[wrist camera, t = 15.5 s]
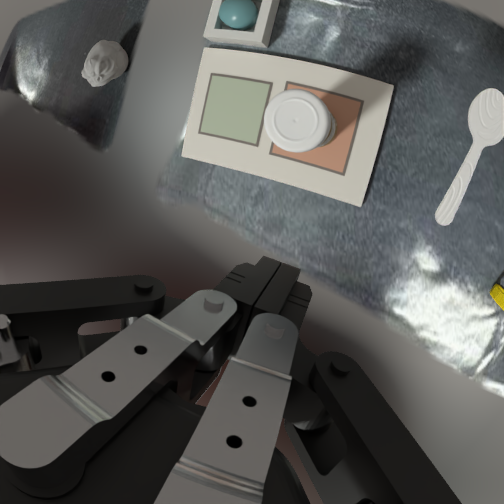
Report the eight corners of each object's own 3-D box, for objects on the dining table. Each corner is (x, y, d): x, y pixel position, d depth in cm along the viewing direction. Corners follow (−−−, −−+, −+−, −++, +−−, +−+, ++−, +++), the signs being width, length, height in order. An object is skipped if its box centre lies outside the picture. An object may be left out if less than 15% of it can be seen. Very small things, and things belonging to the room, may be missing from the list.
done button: (262, 3, 29) (257, -4, 27) (255, 32, 30) (249, 26, 28) (230, 1, 29) (223, -6, 27) (222, 29, 31) (215, 24, 29)
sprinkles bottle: (289, 116, 33) (251, 103, 21) (328, 100, 31) (311, 77, 19) (306, 154, 34) (278, 162, 22) (345, 139, 32) (340, 138, 20)
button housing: (280, -2, 29) (275, -11, 26) (267, 48, 32) (261, 42, 29) (225, -6, 30) (217, -14, 28) (212, 41, 33) (203, 36, 31)
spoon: (420, 212, 33) (421, 213, 32) (479, 78, 25) (481, 77, 25) (456, 234, 32) (457, 235, 32) (514, 103, 25) (516, 103, 24)
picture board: (393, 86, 29) (394, 85, 28) (360, 205, 35) (360, 207, 34) (207, 48, 33) (203, 47, 33) (184, 155, 39) (180, 156, 38)
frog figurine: (108, 94, 39) (74, 93, 33) (104, 53, 37) (71, 47, 31) (141, 81, 37) (106, 76, 31) (136, 37, 35) (103, 27, 29)
